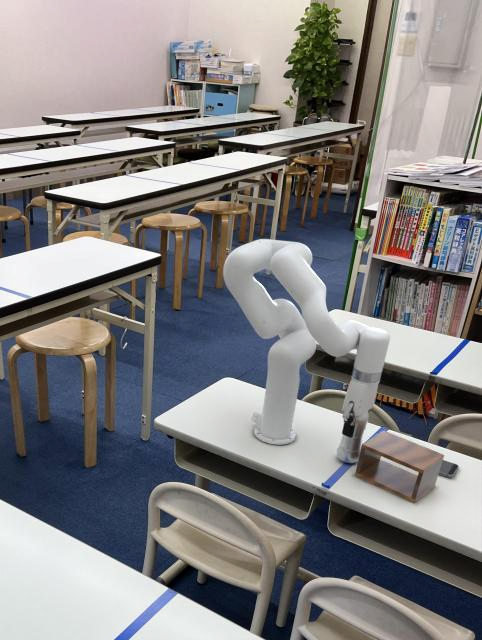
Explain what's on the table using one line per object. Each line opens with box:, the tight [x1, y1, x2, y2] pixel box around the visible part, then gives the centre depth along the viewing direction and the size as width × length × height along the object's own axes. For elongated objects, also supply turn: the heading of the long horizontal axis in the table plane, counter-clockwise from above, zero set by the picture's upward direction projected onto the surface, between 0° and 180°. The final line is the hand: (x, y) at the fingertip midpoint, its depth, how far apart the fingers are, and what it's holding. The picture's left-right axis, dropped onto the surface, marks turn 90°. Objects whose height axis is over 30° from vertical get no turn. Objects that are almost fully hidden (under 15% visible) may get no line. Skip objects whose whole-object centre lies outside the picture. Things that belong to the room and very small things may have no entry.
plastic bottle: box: [336, 411, 370, 464], centre depth 198 cm, size 6×7×20 cm
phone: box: [438, 459, 459, 479], centre depth 202 cm, size 8×1×16 cm
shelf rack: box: [354, 430, 445, 504], centre depth 191 cm, size 18×12×10 cm, turn 44°
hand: (353, 431), depth 198 cm, fingers closed on plastic bottle, 6 cm apart
